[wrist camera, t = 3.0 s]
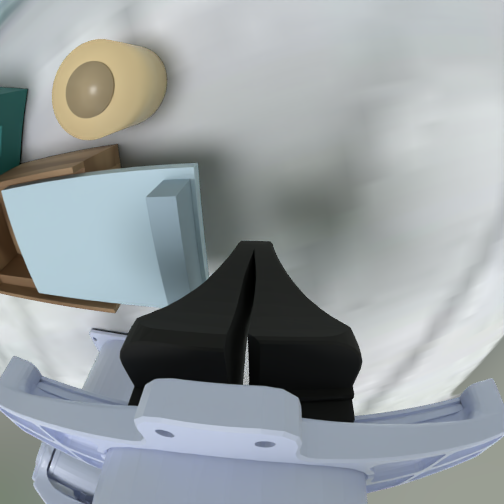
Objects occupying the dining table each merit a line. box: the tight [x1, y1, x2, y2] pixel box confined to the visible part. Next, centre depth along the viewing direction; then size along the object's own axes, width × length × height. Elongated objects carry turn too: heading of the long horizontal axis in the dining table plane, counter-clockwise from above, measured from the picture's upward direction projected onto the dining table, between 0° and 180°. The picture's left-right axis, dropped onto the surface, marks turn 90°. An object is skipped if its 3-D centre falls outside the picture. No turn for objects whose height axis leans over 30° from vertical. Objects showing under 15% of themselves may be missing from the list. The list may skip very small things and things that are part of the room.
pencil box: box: [0, 144, 121, 313], centre depth 16 cm, size 9×14×5 cm, turn 91°
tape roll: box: [52, 39, 167, 140], centre depth 12 cm, size 5×5×4 cm
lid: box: [1, 163, 209, 308], centre depth 13 cm, size 8×13×3 cm, turn 91°
